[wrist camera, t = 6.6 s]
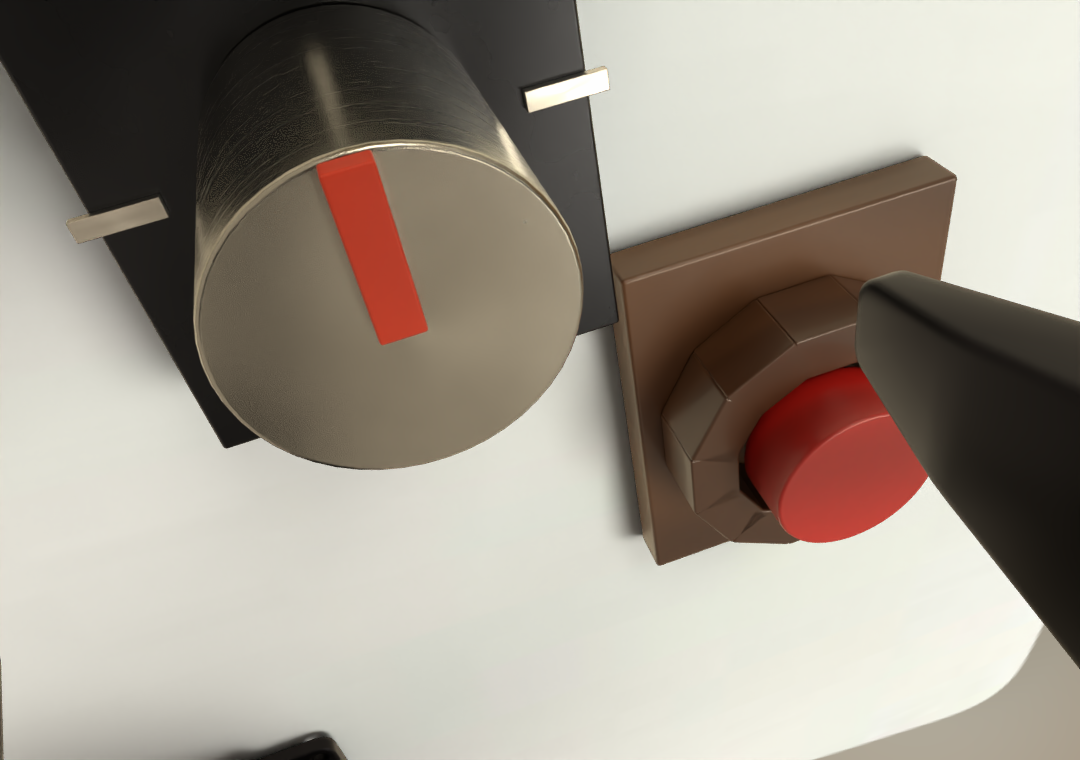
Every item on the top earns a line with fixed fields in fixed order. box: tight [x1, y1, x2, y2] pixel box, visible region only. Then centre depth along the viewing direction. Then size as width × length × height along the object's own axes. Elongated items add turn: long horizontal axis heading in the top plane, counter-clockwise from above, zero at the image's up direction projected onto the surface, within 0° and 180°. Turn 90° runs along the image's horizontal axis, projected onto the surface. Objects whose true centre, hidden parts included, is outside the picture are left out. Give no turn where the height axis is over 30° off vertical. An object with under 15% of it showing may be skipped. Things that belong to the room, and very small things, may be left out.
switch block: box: [610, 156, 957, 566], centre depth 22 cm, size 10×8×3 cm
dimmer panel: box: [0, 0, 619, 448], centre depth 15 cm, size 10×9×3 cm
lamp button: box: [744, 367, 928, 543], centre depth 20 cm, size 4×4×2 cm
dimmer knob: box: [193, 4, 584, 470], centre depth 12 cm, size 4×4×5 cm
